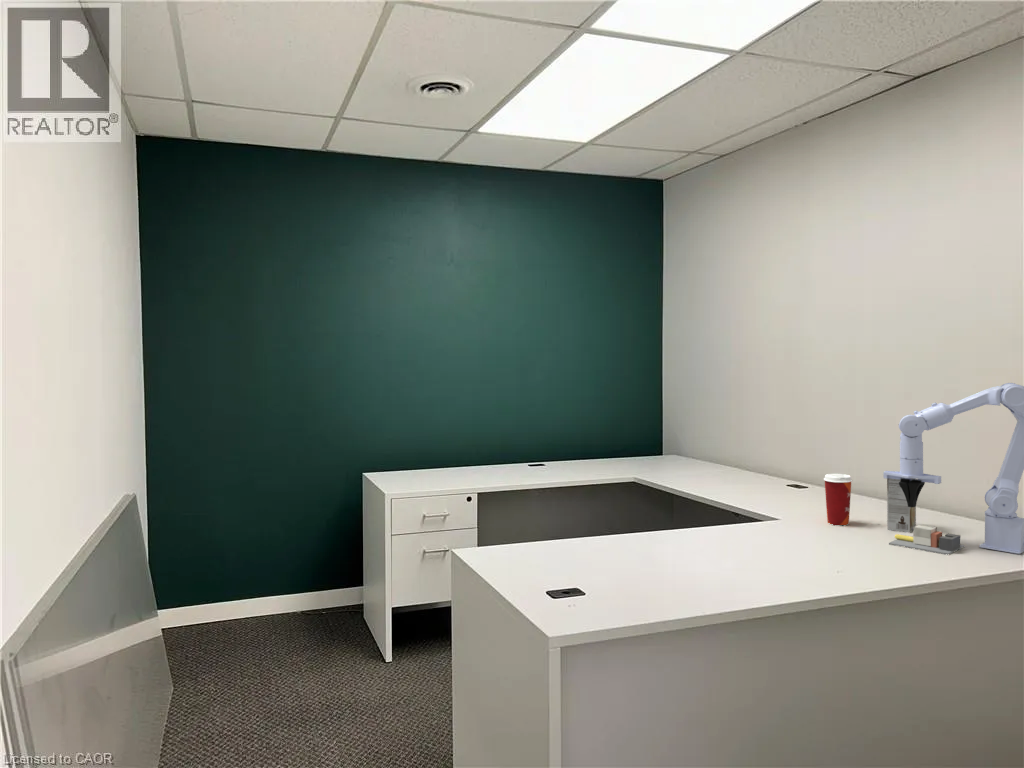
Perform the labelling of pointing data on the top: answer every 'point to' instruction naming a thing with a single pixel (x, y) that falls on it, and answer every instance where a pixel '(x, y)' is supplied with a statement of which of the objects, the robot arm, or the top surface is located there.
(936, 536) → the orange thin flat block
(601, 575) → the top surface
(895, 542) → the mat
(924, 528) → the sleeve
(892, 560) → the top surface
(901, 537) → the yellow thin rod
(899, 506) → the coffee box
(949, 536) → the dark grey hollow block
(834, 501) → the coffee cup
